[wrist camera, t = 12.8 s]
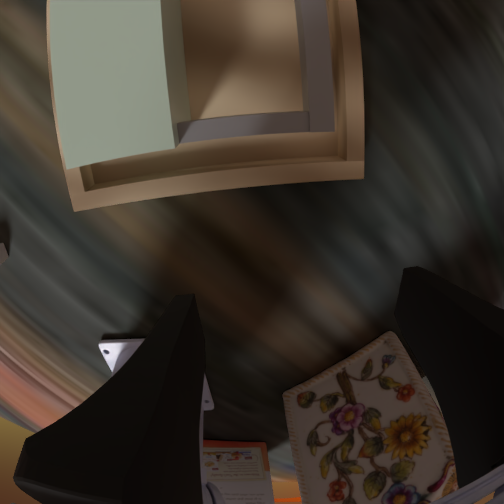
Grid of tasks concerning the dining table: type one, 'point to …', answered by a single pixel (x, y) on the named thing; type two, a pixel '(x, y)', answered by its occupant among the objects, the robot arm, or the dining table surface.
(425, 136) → the dining table surface
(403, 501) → the decorative jar
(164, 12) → the tall sage green box
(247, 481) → the cracker box
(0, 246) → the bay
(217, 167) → the tray
